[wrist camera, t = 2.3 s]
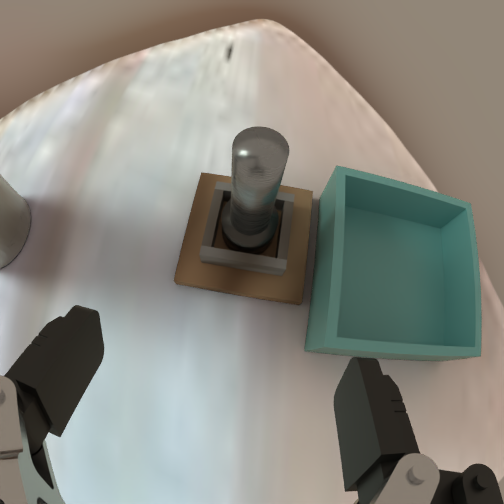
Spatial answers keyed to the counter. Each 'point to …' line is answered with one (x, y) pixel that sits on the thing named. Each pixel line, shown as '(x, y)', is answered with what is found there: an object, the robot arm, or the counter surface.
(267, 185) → the tube
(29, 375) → the robot arm
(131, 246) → the counter surface
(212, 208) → the square framed wooden base
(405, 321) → the bin
